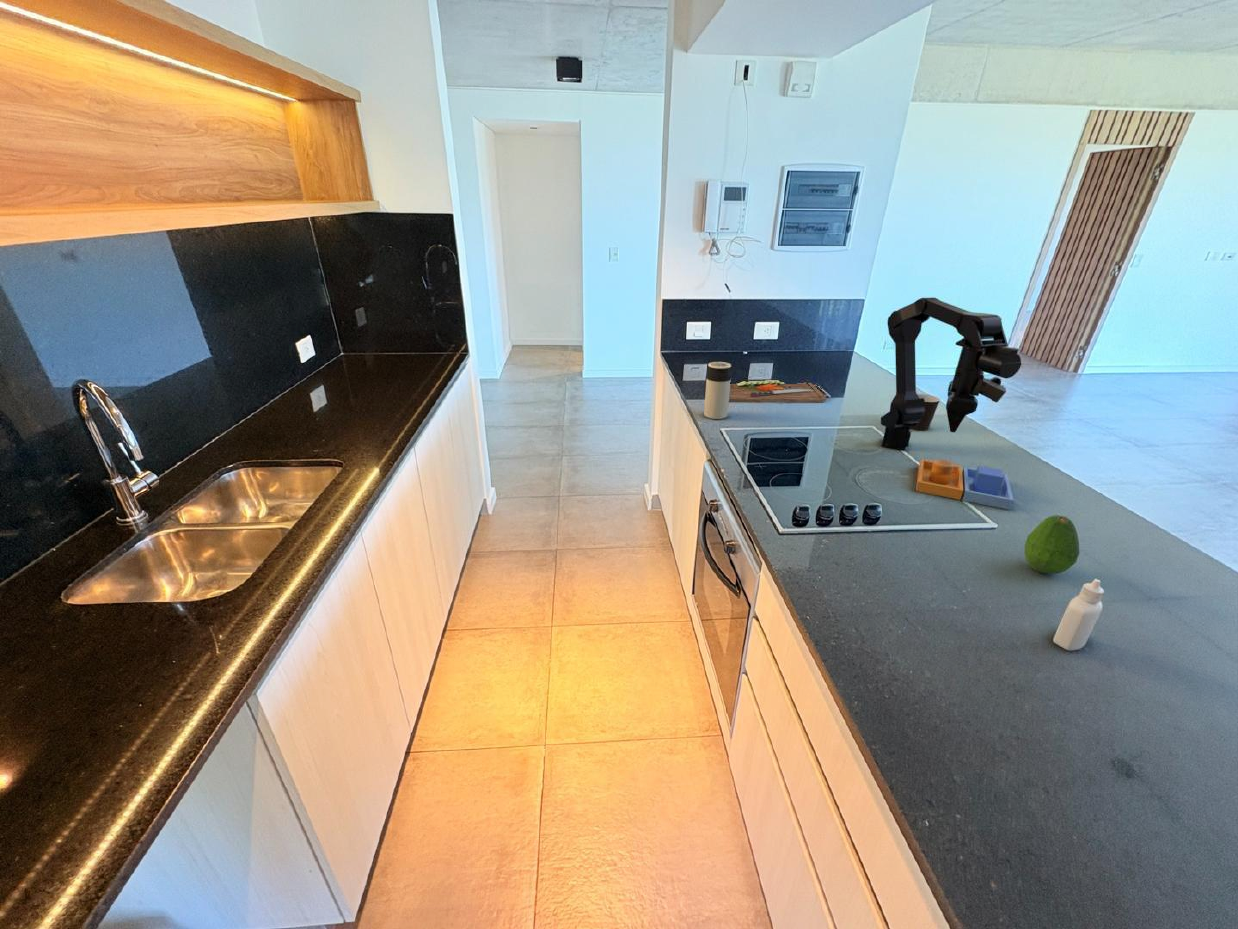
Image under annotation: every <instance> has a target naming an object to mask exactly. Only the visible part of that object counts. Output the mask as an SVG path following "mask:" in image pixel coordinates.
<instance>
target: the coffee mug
mask: <svg viewBox="0 0 1238 929" xmlns="http://www.w3.org/2000/svg"><path fill="white" fill-rule="evenodd" d="M917 395H918V396H919V398H924V400H925V404H924V408H925V412H924V415H923V418H922V419H921V420H920V421H919V423H918V424H917V426H916V427H910V430H914V431H918V432H920V431H921V432H924V431H927V430H929V428H930V426H931V424H932V422H933V419H934V416H935V413H936V411H937V408H938V406H939V404H940V401H941V398H939V397H937V396H935V395H931V394H925V393H917Z"/></svg>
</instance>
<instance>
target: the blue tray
mask: <svg viewBox="0 0 1238 929" xmlns="http://www.w3.org/2000/svg"><path fill="white" fill-rule="evenodd" d="M976 471H977V468H972V467H968V466H967V467H966V466H963V467H962V477H963V493H962V496H961V500H962V501H964V502H969V503H973V504H978V505H984V506H989V507H992V508H993V507H994V508H998V509H1003V510H1008V511H1011V510H1012V507H1013V504H1014V501H1015V500H1014V496H1013V492H1012V488H1011V483H1010V479H1009V474H1005V473H1003V477H1004V478H1003V481H1002V484H1001V487H1000V490H999V493H998V496H996V495H990V494H985V493H980V492H975V491H973V481H974V478H975V474H976Z"/></svg>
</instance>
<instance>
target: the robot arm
mask: <svg viewBox="0 0 1238 929" xmlns="http://www.w3.org/2000/svg"><path fill="white" fill-rule="evenodd" d="M930 318H932V319H935V320H937V321H938V322H941V323H944V324H946V325H949V326H950V327H953V328H955V329H956V332H957V334H958V335H959V336H962V337H963V338H961V339H960V340H958V341H956V342H955V345H956V346H959V347H962V348H961V351H960V353H959V358H958V361H957V365H956V367H955V370H954V376H953V379H952V380H950V381H949V384H948V388H947V400H946V403H945V410H946V415H947V416H946V417H947V421H948V428H949V432H950V433H956V432H957V430H958V428H959V427H960V425H961V423H962V422H963V420H964V419H965V417H966V416H968V415H970V414H973V413H975V412H976V411H977V408H978V406H979V400H978V399H977V397H979V395H980V396H983V397H985V398H987V399H990V400H991V401H992V402H994V403H999V401H1000V400H1001V399H1002V397H1004V395H1005V394H1006V393H1007V389H1006V387H1005V386H1004V385H1003V384H1002V379H1011V378H1012V377H1014V376H1015V375H1016V374H1017V373H1018V372H1019V370H1020V368H1021V367H1022V358H1021V355H1019V354H1018V353H1019V351H1020V349H1019V348H1017V347H1009V343H1008V340H1007V337H1006V333H1005V330H1004V327H1003V322H1002V318H1001V316H999V315H998V314H992V313H985V312H975V311H974V312H973V311H969V310H966V309H964V308H961V307H959V306H956V305H953V304H950V303H947V302H945V301H942V300H940V299H939V298H936V297H920V298H919V299H916V300H915V301H914V302H912V303H910V304H908V305H905V306H903V307H901V308H899V309H897V310H894V311H892V312H891V314H890V315H889V316H888V318H887V329H888V335H889V336H890V338H891V339H892V341H893V342H894V347H895V348H894V349H895V350H894V351H895V353H894V354H895V357H894V358H895V395H894V397H893V398H892V401H891V402H890V404H889V411H888V412H887V413H884V415H881V417H880V425H881V426H883V427H885V428H884V429H885V430H884V432H883V433H884V434H883V437H882V441H881V444H880V446H881V447H884V448H887V449H894V450H899V451H906V448H907V447H908V448H909V443H910V439H911V435H912V431H911V429H910V427H916V426H917V424H918V423H919V421H920V420H921V419H922V418H923V415H924V412H925V408H924V404H925V400H924V398H919V396H918V395H917V394H918V392H917V380H916V379H917V378H916V377H917V376H916V375H917V374H916V373H917V372H916V341H917V339H918V337H919V335H920V334H921V331H922V327H923V326H922V325H923V324H924V323H925V322H927V321H928V320H930ZM985 373H987V374H988V375H989V374H990V375H993V377H992V378H986V377H985ZM1001 378H1002V379H1001Z"/></svg>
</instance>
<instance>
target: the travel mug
mask: <svg viewBox="0 0 1238 929" xmlns="http://www.w3.org/2000/svg"><path fill="white" fill-rule="evenodd" d="M731 367H732V364H731V363H729V362H724V361H712V362H709V363H708V371H707V373H706V381H705V382H706V383H705V394H704V396H705V397H704V410H703V415H704V417H706V418H709V419H711V420H723V419H726V418H727V417H728V414H729V404H730V402H729V393H730V382H731V379H732V373H731V371H730V370H731Z"/></svg>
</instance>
